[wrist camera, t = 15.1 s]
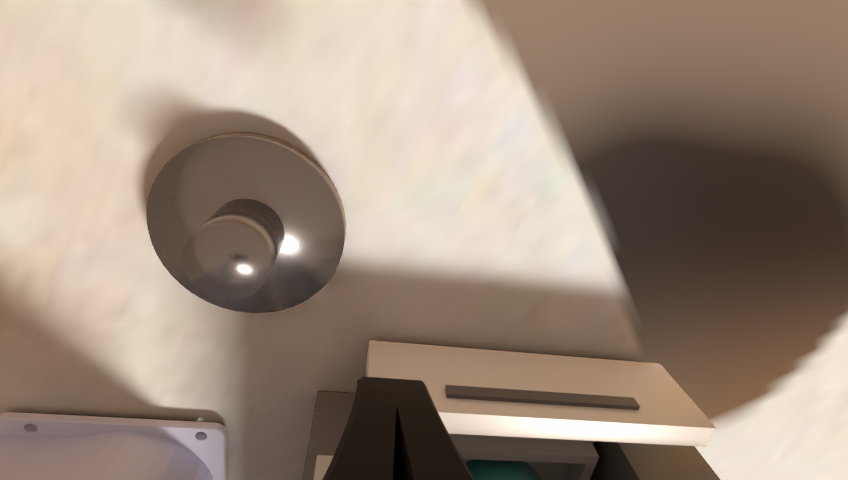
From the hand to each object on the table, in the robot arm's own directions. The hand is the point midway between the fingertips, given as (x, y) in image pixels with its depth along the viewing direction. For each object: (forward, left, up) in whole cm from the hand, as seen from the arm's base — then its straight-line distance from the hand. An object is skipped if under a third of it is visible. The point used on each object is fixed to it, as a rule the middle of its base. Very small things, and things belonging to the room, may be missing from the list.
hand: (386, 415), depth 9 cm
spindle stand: (-5, 0, -9) cm, 11 cm away
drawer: (+7, -13, -9) cm, 18 cm away
